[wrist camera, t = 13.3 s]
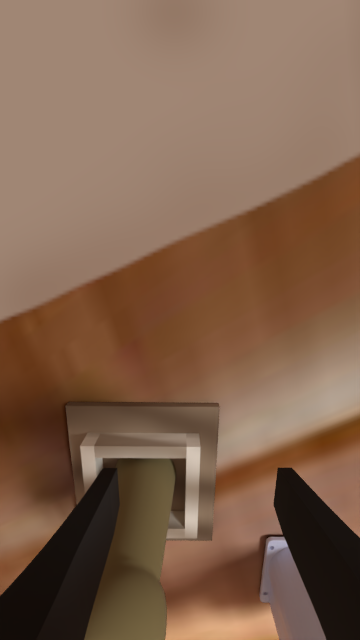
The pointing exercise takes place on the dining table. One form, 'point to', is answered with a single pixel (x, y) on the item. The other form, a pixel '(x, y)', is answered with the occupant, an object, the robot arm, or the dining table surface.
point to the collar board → (152, 452)
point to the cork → (136, 555)
